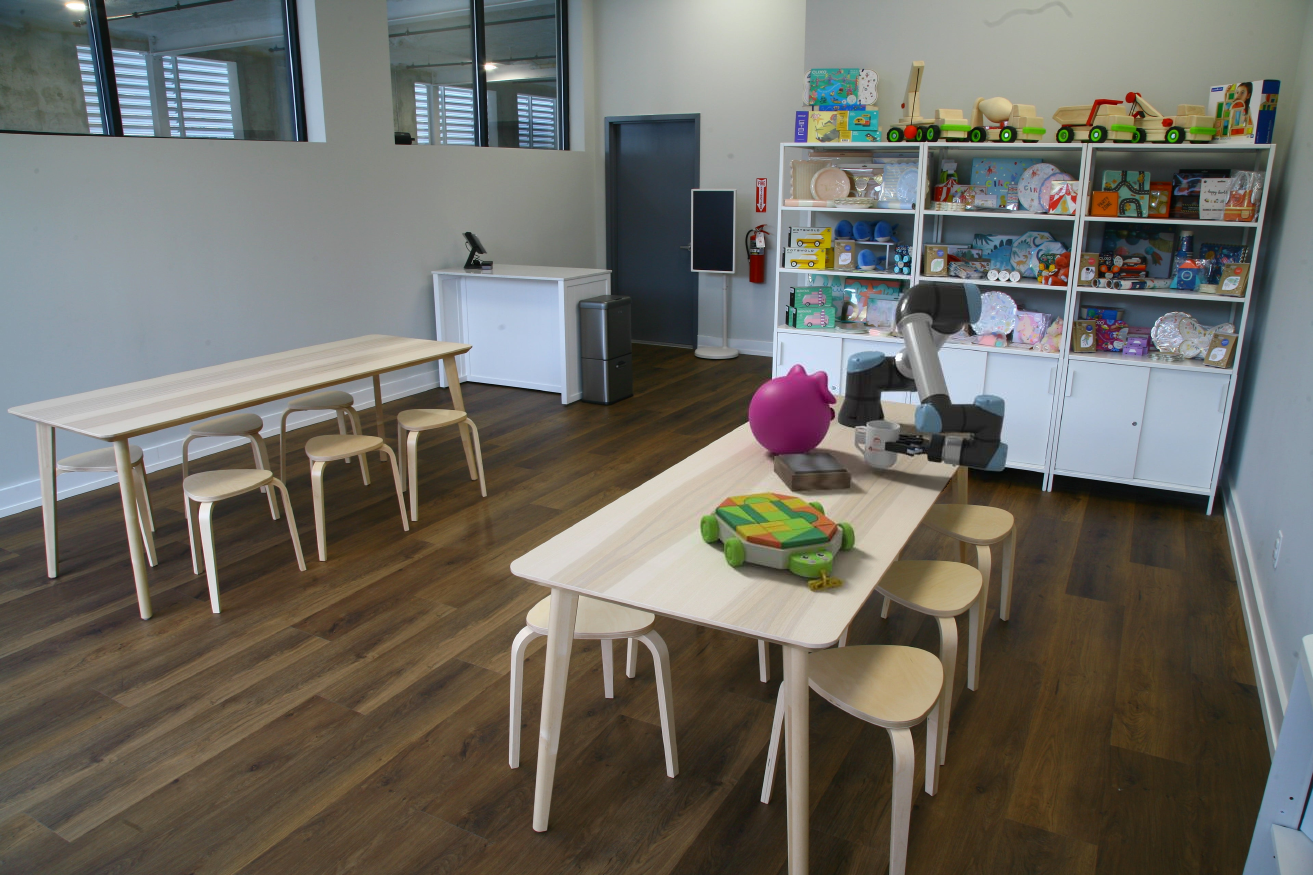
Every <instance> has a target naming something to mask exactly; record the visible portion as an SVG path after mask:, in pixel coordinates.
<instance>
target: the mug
mask: <svg viewBox="0 0 1313 875" xmlns="http://www.w3.org/2000/svg"><path fill="white" fill-rule="evenodd" d="M854 429H855V430H854V438H855V437H856V433H858V431H859V429H863V430H864V432H866V438H865V444H864V449H863V448H862V447H861V446H860V444H859V443H855V442H854V446H855V448H856V449H857V450H858V451H859V452H860V453H861V454H862V455H863V460H864V462H865V463H866V464H867V465H868V466H871V467H874V468H880V469H889V468H892V467H893V466H895V464H896V463H897V461H898V454H899V453H895V452H890V451H885V442H896V441H897V440H899V434H901V433H900V432H901V425H900V424H898V423H896V422H893V421H889V420H884V421H870V422H868V423H867V427H865V426H856V427H854Z"/></svg>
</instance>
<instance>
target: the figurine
mask: <svg viewBox="0 0 1313 875" xmlns="http://www.w3.org/2000/svg"><path fill="white" fill-rule="evenodd" d="M787 372H788V373H787V374H786V375H784V376H779V377H778V376H777V377H775V378H773V379H770V380H768V381H766V382H765V383H763V384H762V385H761V386H760V387H759V388H758V389H757V390H756V391H755V393H754V395H753V396H752V399H751V401H750V403H749V409H748V423H749V426H750V430H751V432H752V435H753V437H754V439H755V440H756V441H757V442H758V443H759V445H760V446H761V447H763V448H764V449H766V450H767V451H769V452H771V453H774V454H776V455H786V454H808V452H810V451H813V450H814V449H816V448H817V447H818V446H819V445H820V444H821V443H822V442H823V441H824V440H825V438H826V436H827V434H828V431H829V429H830V428H829V427H830V425H831V421H833V420H835V418H836V411H835V410H834V408H833V407H830V405H835V404H836V403H837V402H838V401H837V399H836V397H835V395H834V394H833V393H832V392H831V390H829V386H828V385H829V379H828V378H829V377H828V374H827V372H825V370H819V371H816V372H814V373H812V374H809V375H808V373H807V371H806V369H805V368H804V366H803V365H801V364H799V363H798V364H797V363H796V364H795V365H793V366H792V367H791V368H790V369H789V371H787Z"/></svg>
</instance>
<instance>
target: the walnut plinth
mask: <svg viewBox="0 0 1313 875" xmlns="http://www.w3.org/2000/svg"><path fill="white" fill-rule="evenodd" d="M773 472H774V473H775V475H777V477H778V478H779V479H780V480H781V481H782V482H783V484H784V485H785V486H786V487H787V488H788V489H789V490H790V492H801V491H805V492H806V491H818V490H820V491H821V490H823V491H824V490H839V489H840V490H842V489H843V490H845V489H846V490H847V489H851V481H852V472H851V471H850V470H849V469H848V468H847V467H846V466H844V465H843V463H841V462H840V461H839V460H838V459H837V458H836V457H835V456H833V455H832V454H831V453H829V452H818V453H817V452H816V453H815V452H812V453H804V454H786V455H780V454H778V455H774V459H773Z"/></svg>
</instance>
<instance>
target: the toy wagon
mask: <svg viewBox="0 0 1313 875" xmlns="http://www.w3.org/2000/svg"><path fill="white" fill-rule="evenodd" d="M825 514H826V513H825V509H824V507H823V505H822V503H820V502H819V501H812V502H811V501H810V502H807V501H805V500H803V498H801V497H799V496H798V497H797V496H793V495H786V494H781V493H780V494H779V493H775V492H770V491H769V492H761V493H751V494H743V495H735V496H728V497H727V498H725V499H724V500H723V501H722V502H721V503H720V504H719V505H718V506H716V508H714V509H713V510H712V511H711V512H710V515H709V514H707V515H703V516H701V519H700V524H699V528H700V533H701V534H700V535H701V537H702V540H703V541H704V542H705V543H707V544H709V543H710V544H711V543H715V542H717V541H718V539H720V541H722V543H723V544H724V545H723V553H724V558H725V560H726V562H727V564H728V566H730V567H732V568H735V567H741V566H742V565H743V563H744V562H747V563H751V564H757V565H761V566H763V567H769V568H774V569H778V570H785V569H786V570H787V569H788V570H789V571H791V572H792V573H793V574H795V575H798V576H801V577H805V578H814V579H815V580H814V579H813V580H809V581H808V582H807V585H808V589H809V590H810V591H811V592H815V591H825V590H828V589H830V588H840V587H842V586H843V583H844V582H843V581H842V579H840V578H838V577H835V576H831V577H827V576H829V575H830V574H831V573H832V572H833V564H834V558H835V556H836V555H837V553H838V552H839V550H842V551H849V550H852V549H853V547H854V546H855V543H856V542H855V541H856V535H855V530H854V528H853V527H852V526H851V524H850V523H849V522H846V521H845V522H839V523H835V522H834V521H833V520H832V519H830V518H829V517H827V516H826V515H825ZM817 578H818V579H817ZM819 578H820V579H819Z"/></svg>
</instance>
